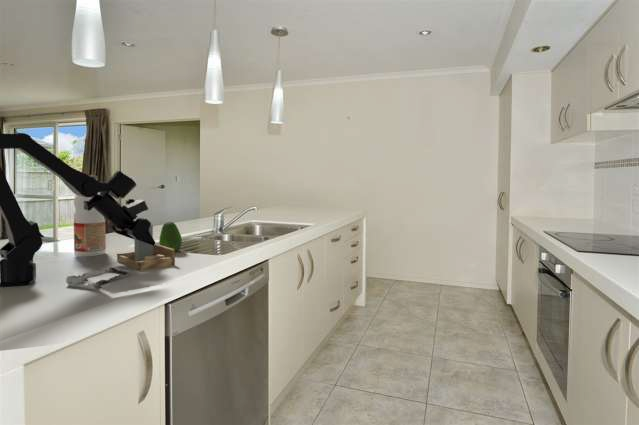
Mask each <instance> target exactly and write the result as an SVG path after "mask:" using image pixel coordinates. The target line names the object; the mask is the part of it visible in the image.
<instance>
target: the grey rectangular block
mask: <svg viewBox="0 0 639 425" xmlns="http://www.w3.org/2000/svg"><path fill="white" fill-rule="evenodd" d="M153 227H154V226H153V224H151V225H150V227H149V232H150V234H151V236H152V237H153V238H154V232H153V230H154V228H153ZM134 252H135V260H136V261H145V257H146V256H152V255H153V245H150V244H148V243H145V242H142V241H139V240H137V239H135V240H134Z"/></svg>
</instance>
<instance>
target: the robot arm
mask: <svg viewBox="0 0 639 425" xmlns="http://www.w3.org/2000/svg"><path fill="white" fill-rule="evenodd" d="M7 149H8V150H13V149H17V150H18V151H20V152H22V153H23V154H25V155H26V156H27V157H29V158H31V159H32V160H33V161H34V162H36V163H37V164H39V165H41V166H42V167H43V168H45V169H46V170H48V171H49V172H51V173H52V174H54V175H55V176H56V177H57V178H59V179H60V181H62V183H64V185H65V186H66V188H68V189H69V190H70V191H71V192H72V193H73V194H74V195H75V196H76V195H78V196H83V197H92V198H91V199H90V200H89V201H84V210H88V211H90V210H91V209H92V208H94V209H96V210H97V211H98V212H99V213H100V214H101V215H102V216H104V219H105V222H106V221H107V222H109V223H108V229H109V230H110V231H111V232H113V233H116V234H117V235H119V236H124V237H126V238H129V239H131V240H133V241H135V239H137V240H139V241H142V242H145V243H148V244H150V245H154V244H156V240H155V239H154V236H153V237H152V236H151V234H150V232H149V227H150V225H152V222H151V221H149V219H147V218H143V217H138V214H141V213H143V212H146V211H148V210H149V207H148V205H147V203H146V201H145V199H134V198H128V199H126V200H125V204H124V205H123V204H121V203H119V201H117V200H119V198H120V199H125V197H127V195H129V194H130V193H131V192H132V191H133V189H135V188H136V187H137V183H136V181H135V180H134V179H133V178H132V177H130V176H128V175H127V174H125V173H123V172H122V170H117V171H115V172H114V174H113V175H111V176H110V178H109V179H108V180H106V181H98V179H97V180H96V179H95V178H93V177H91V176H92V175H89V174H86V173H85V172H82V171H80V170H78V169H75V168H73V167H71V165H69V164H68V163H67V162H65V161H63V160H62V159H61V158H59V157H58V156H57V155H55V154H54V153H52V152H51V151H50V150H48V149H47V148H45V147H44V146H43V145H41V144H40V143H38V142H37V141H36V140H35V139H33V138H32V137H31V136H30V135H29V134H28V133H25V132H19V133H0V150H7ZM98 192H100V194H99V195H98ZM0 214H1V216H2V217H3V221H5V229H6V231H5V232H6V235H7V239H8V242H6V243H5V244H4V245H3V246H2V247H0V257H1V258H2V259H1V260H0V287H11V286H13V287H14V286H27V285H30V284H31V283H32V282H34V281H35V280H36V279H37V265H36V262H34V256H35V254H36V253H37V252H38V251H39V250H41V248H42V246H43V239H42V238H45V236H44V234H42V232H41V231H40V227H39V224H38V222H36V221H33V220H28V219H27V218H26V217H25V215H24V213H23V212H22V209H21V207H20V205H19V203H18V200H17V198H16V197H15V194H14V192H13V190H12V188H11V185H10V184H9V182H8V179H7V178H6V175H5V173H4V171H3V170H2V167H1V166H0Z"/></svg>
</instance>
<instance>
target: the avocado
mask: <svg viewBox="0 0 639 425" xmlns="http://www.w3.org/2000/svg"><path fill="white" fill-rule="evenodd" d="M182 240H183V239H182V236H181V232H180V230H179V228H178V226H177V225H176V223H175V222H173V221H168V222H164V224H163V225H162V227H161V230H160V235H159V243H158V245H162V246H165V247H168V248H172V249H175V253H178V252H179V251H180V249H181V248H182V244H183V241H182Z"/></svg>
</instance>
